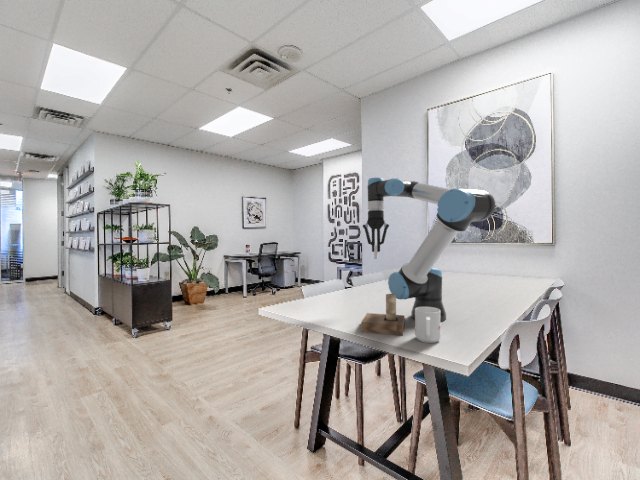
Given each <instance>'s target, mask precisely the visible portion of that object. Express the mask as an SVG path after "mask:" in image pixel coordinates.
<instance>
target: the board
mask: <svg viewBox="0 0 640 480" xmlns="http://www.w3.org/2000/svg"><path fill="white" fill-rule="evenodd" d="M360 324H361V326H360V329H361V330H360V331H361V333H371V334H381V335H383V334H385V335H394V336H395V335H396V336H403V335H404V330H405V315H403V314H400V315H399V314H396V321H386V313H385V314H384V313H370V312H366V314H365V315H364V317H363V318H362V320H361V323H360Z"/></svg>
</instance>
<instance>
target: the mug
mask: <svg viewBox="0 0 640 480" xmlns="http://www.w3.org/2000/svg"><path fill="white" fill-rule="evenodd" d="M441 327H442V325H441V321H440V309H438V308H434V307H417V308H415V319H414V336H415V338H416V339H417V340H418V341H419V342H422V343H425V344H427V343H428V344H434V343H437V342H439V340H440V339H441V336H442V335H441V330H442V329H441Z"/></svg>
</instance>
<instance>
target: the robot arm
mask: <svg viewBox="0 0 640 480" xmlns="http://www.w3.org/2000/svg"><path fill="white" fill-rule="evenodd" d="M366 187H367V210H368V211H367V220H366V222H365V223H364V224H363V225H362V228H363V229H364V232H365V235H366V240H367V244H368V245H371V252H372V253H373V255H374V256H373V257H374V260H378V259H379V253H380V251H381V245H383V244H384V243H385V240H386V239H385V238H386V234H387V231H388V228H389V227H390V224H388V223H387V222H385V219H384V217H385V216H384V215H385V214H384V213H385V212H384V207H385V205H384V198H386V197H401V198H402V197H403V198H410V199H414V200H419V201H423V202H427V203H430V204H433V205H434V204H435V205H436V206H437V208H436V209H437V211H436V212H437V213H436V219H437V220H436V221H435V223H434V225H433V227H432V228H431V230H430V231H429V232H428V233H427V236H426V237H425V238H424V240H423V241H422V243H421V245H420V246H419V247H418V249H417V251H415V253H414V254H413V256H412V258H411V260H410V261H409V262H405V263H404V264H403V265H402V266H401V268H400V269H399V270H398V271H395V272H393V273H391V274H390V275H389V276H388V281H387V284H388V290H389V292H390V294H395V295H396V300H408V299H412V298H414V302H413V305H412V309H411V314H410V317H411V318H412V319H413V320H415V308H417V307H434V308H438V309H440V322H444V321H445V320H447V312H446V310H445V307H444V304H443V294H442V293H443V276H442V275H443V273H442V272H443V271H442V270H441V269H440V268H435V267H434V266H435V264H436V263H437V262H438V260H440V258H441V257H442V255H443V253H444V252H445V251H446V250H447V248H448V247H449V246H450V244H451V243H452V242H453V240H454V239H455V238H456V236H457V235H458V233H464V232H465V231H466V230H467V228H468V227H469V226H470V225H471V223H473V222H474V223H475V222H476V223H477V222H483V221H486V220H487V219H489V218H490V217H491V216H493V214H494V212H495V211H496V201H495V198H494V196H493V195H492V194H491V193H490V192H487V191H486V190H484V189H483V190H482V189H471V188H470V189H469V188H464V187H459V188H448V187H447V188H446V187H443V186H438V185H433V184H426V183H422V182H419V181H415V180H401V179H400V178H399V177H398V178H390V179H386V180H384V178H383V177H370V178H369V179H368V180H367V186H366ZM382 227H383V228H384V229H383V233H382V237H381V229H382ZM369 228H370V229H371V236H370V232H369ZM375 241H376V242H375Z"/></svg>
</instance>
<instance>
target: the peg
mask: <svg viewBox="0 0 640 480" xmlns="http://www.w3.org/2000/svg"><path fill="white" fill-rule="evenodd" d="M385 314H386V321H396V315H397V298H396V295H395V294H391V293H385Z"/></svg>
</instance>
